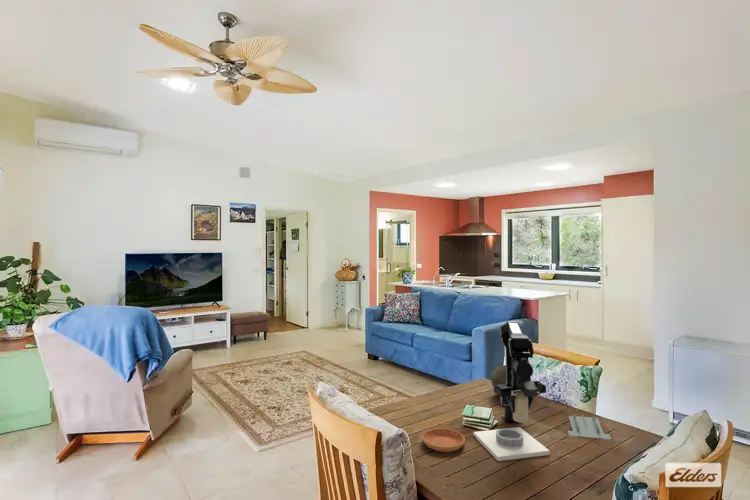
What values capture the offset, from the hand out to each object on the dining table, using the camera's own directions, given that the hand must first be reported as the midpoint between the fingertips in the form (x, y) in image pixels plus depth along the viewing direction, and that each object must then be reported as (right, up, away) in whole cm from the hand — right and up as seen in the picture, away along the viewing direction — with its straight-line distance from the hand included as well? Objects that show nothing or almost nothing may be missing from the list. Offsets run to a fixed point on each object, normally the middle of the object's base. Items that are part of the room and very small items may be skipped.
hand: (520, 411), depth 157 cm
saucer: (-28, -14, +2) cm, 32 cm away
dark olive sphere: (+11, -12, +52) cm, 54 cm away
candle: (0, -3, 0) cm, 3 cm away
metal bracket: (+31, -13, +12) cm, 35 cm away
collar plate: (-4, -13, +1) cm, 13 cm away
